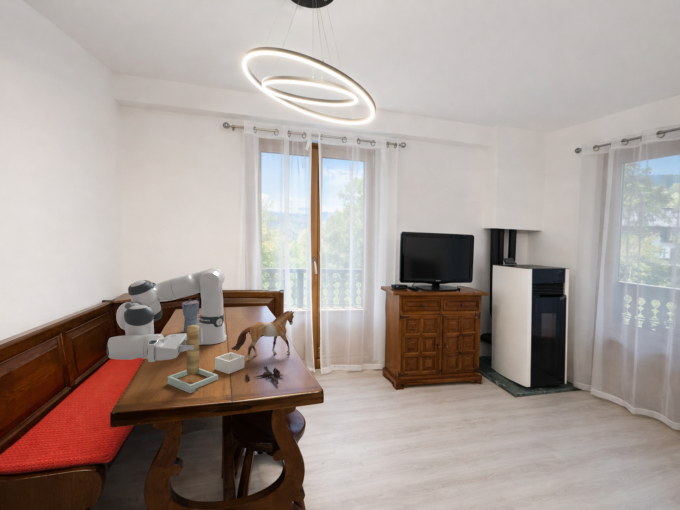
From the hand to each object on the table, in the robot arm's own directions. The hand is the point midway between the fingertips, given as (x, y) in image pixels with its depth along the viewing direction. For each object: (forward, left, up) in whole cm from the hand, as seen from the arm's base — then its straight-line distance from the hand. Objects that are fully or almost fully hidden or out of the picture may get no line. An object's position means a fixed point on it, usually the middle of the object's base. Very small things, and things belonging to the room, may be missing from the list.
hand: (195, 344), depth 129 cm
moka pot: (-64, +43, -15) cm, 78 cm away
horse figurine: (-1, +38, -15) cm, 41 cm away
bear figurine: (+19, +18, -16) cm, 30 cm away
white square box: (+1, +16, -15) cm, 22 cm away
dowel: (-1, -1, -11) cm, 11 cm away
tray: (-1, 0, -15) cm, 15 cm away
